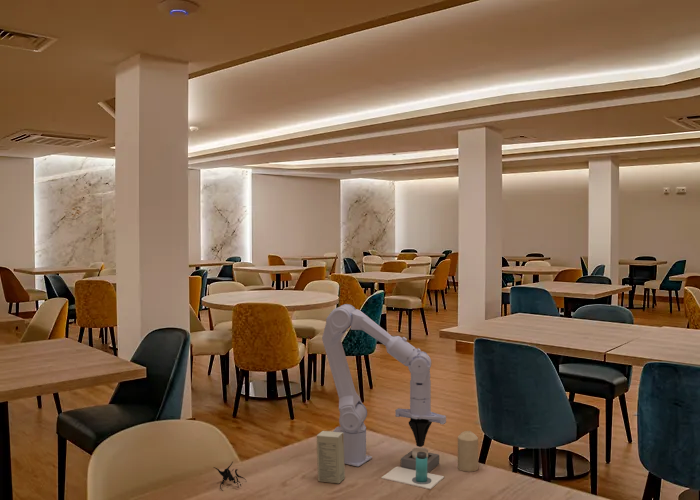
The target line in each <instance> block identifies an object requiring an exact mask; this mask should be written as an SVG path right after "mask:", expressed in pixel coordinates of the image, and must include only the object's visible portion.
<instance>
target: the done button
mask: <svg viewBox="0 0 700 500" xmlns="http://www.w3.org/2000/svg"><path fill="white" fill-rule="evenodd" d="M411 451H412V458H413V459H416V456H417V453H418V452H425V453H426V456H427V459H428V452H429V449H427V448H425V447H414V448H413V449H412V450H411Z"/></svg>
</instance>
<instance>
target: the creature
mask: <svg viewBox="0 0 700 500" xmlns="http://www.w3.org/2000/svg"><path fill="white" fill-rule="evenodd" d="M233 463H234V461H232V462H231V463H230V465H229V466H228V467H227V468H224V471H222V470H220V469H219V468H218V467H216V466H215V467H214V466H213V469H216V471H218V473H219V474H220V476H222V481H221V482H220V484H219V489H220V490H221V491H223V489H222V488H221V487H222V484H223V485H224V482H227V481H229V482H232V481H233V482H232V483H234V484H236V483H237V484H236V485H237V488H240V487H242V484H238V483H241V481H239V479H244V480H245V481H247V479H246V478H245V477H243V476H241V475H239V474H238V472H237V471H239V469H237V468H236V469H235V468H233V469H232V470H230V468H231V466H232V465H233ZM234 469H235V471H234ZM232 471H234V473H235V476H233V473H232ZM235 478H236V479H235ZM238 478H239V479H238ZM239 486H240V487H239Z"/></svg>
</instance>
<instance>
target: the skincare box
mask: <svg viewBox="0 0 700 500" xmlns="http://www.w3.org/2000/svg"><path fill="white" fill-rule="evenodd" d="M316 458H317V459H316V460H317V461H316V462H317V481H318V482H322V483H323V482H324V483H332V484H340V483H341V482H342V481H344V479H345V477H346V475H345V464H344V435H343V432H333V431H329V430H322V431H321V432H319V433H318V434H317V435H316Z"/></svg>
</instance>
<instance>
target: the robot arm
mask: <svg viewBox="0 0 700 500" xmlns="http://www.w3.org/2000/svg"><path fill="white" fill-rule="evenodd" d="M324 325H325V326H324V329H323V333H322V337H321V338H322V339H321V340H322V344H323V348H324V351H325V354H326V357H327V358H326V359H327V361H328V364H329V368H330V372H331V375H332V379H333V382H334V385H335V389H336V392H337V396H338V411H339V419H338V424H339V425H338V426H336V427H335V428H334V430H333V431H332V432H343V435H344V465H350V466H353V467H360V466H362V465H364V464H365V463H367V462H368V461H370V460H371V459H372V458H373V456H371V455H368V454H367V426H366V424H365V420H366V419H367V417H368V410H367V407H366V405H365V404H363V402H362V399H361V397H360V395H359V394H358V392H357V391H356V388H355V387H356V386H355V385H354V380H353V377H352V374H351V371H350V367H349V363H348V359H347V356H346V352H345V350H344V346H343V344H342V343H343V342H342V339H343V337H344V335H345V334H346V332H347V330H348V329H349V328H350V330H351V331H352V330H353V331H363V332H365V333H366V334H368V335H369V336H370V337H372V338H373V339H375V340H376V341H378V342H379V343H381V345H382V344H383V345H384V346H385V349H386V352H387V353H388V354H389V355H390V356H391V357H393V359H395V360H396V361H398V362H399V363H401V365H404V366H405V367H408V371H409V373H410V380H409V408H399V407H398V408H397V409H395V414H394V415H395V417H396V418H400V417H401V418H407V419H409V421H408V426H409V427H410V429H411V430H412V433H413V437H414V440H415V444H416V447H417V448H423V446H425V442H426V438H427V434H428V432H429V429H430V428H431V427H430V426H431V425H432V423H437V424H440V425H445V424H446V423H447V415H444V414H440V413H437V412H433V411H432V410H431V409H432V406H431V402H432V394H431V393H432V389H431V388H432V380H431V368H432V359H431V357H430V356H429V354H428V353H427V352H426V351H422V349H420V348H419V347H417V348H416V347H415V346H414V345H412V344H411V343H410V342H408V338H407V337H405V336H402V337H401V336H400V335H396V336H395V335H394V336H393V335H391V334H390V333H389V332H388V331H386V330H385V329H384V328H383V327H381V325H379V324H377V323H376V322H375V321H374V320H373V319H371V318H370V317H369V316H368V315H366V313H364V312H362V311H361V310H360V309H358V308H357V309H356V308H355V306H353V305H352V304H350V303H349V304H348V303H345V304H342V305H340V306H339V307H335V308H334V309H333V310H331V311H330V313H329V314H328V315H327V317H326V318H325V324H324Z"/></svg>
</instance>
